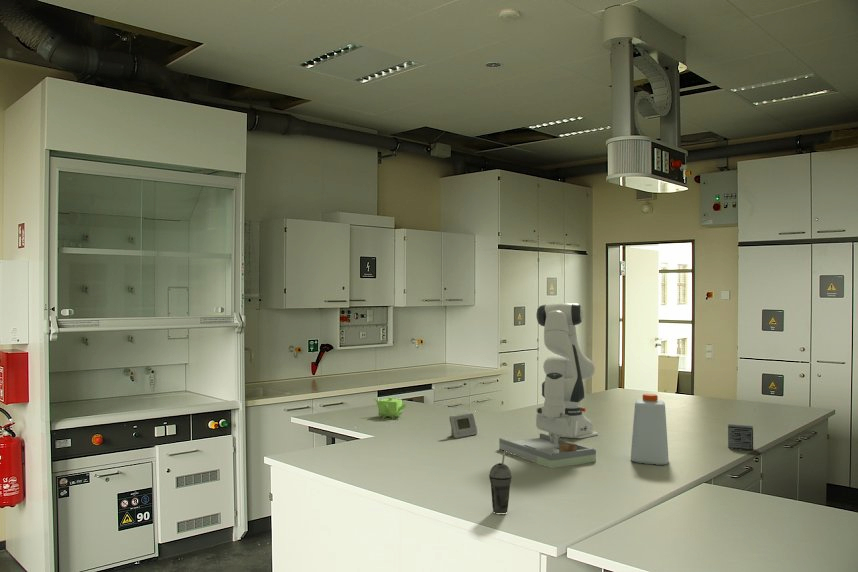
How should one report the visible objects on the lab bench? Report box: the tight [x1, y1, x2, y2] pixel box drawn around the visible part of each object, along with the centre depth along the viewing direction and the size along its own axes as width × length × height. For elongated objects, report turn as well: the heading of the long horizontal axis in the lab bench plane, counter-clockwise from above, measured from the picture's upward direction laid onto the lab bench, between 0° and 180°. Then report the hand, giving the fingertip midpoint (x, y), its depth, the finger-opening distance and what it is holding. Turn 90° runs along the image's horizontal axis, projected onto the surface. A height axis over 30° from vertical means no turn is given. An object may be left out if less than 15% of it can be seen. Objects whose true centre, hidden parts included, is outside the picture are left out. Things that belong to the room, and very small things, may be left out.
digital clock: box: [449, 412, 478, 439], centre depth 326 cm, size 16×9×11 cm, turn 121°
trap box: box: [498, 433, 597, 469], centre depth 288 cm, size 24×36×6 cm, turn 29°
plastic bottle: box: [630, 393, 669, 466], centre depth 281 cm, size 15×15×28 cm
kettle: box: [373, 396, 408, 420], centre depth 373 cm, size 15×14×11 cm
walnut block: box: [559, 441, 578, 453], centre depth 275 cm, size 5×5×5 cm
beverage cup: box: [488, 450, 513, 513], centre depth 211 cm, size 7×7×20 cm
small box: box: [727, 423, 754, 452], centre depth 306 cm, size 11×6×10 cm, turn 65°
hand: (554, 443), depth 284 cm, fingers closed
